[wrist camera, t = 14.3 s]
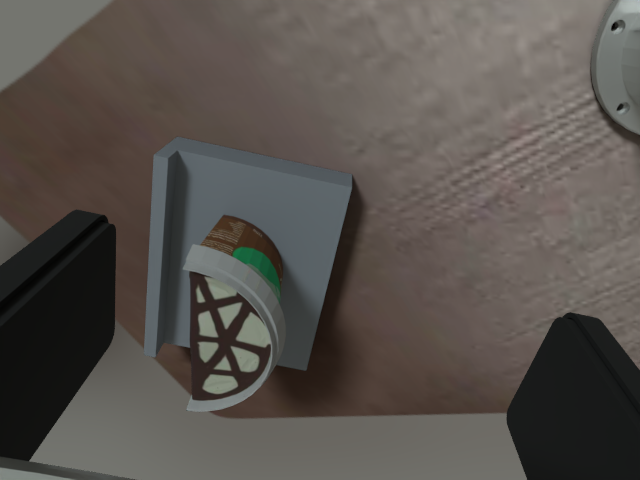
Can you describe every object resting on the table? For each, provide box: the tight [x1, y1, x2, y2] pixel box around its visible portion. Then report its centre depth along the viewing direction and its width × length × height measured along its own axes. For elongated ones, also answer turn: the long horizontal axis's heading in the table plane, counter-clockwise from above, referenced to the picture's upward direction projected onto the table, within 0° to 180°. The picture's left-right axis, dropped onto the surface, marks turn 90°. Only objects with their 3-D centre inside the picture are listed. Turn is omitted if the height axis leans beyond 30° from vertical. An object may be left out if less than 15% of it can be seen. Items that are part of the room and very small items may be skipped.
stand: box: [144, 137, 352, 371], centre depth 40 cm, size 14×18×5 cm
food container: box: [183, 214, 286, 412], centre depth 35 cm, size 12×6×10 cm, turn 174°
